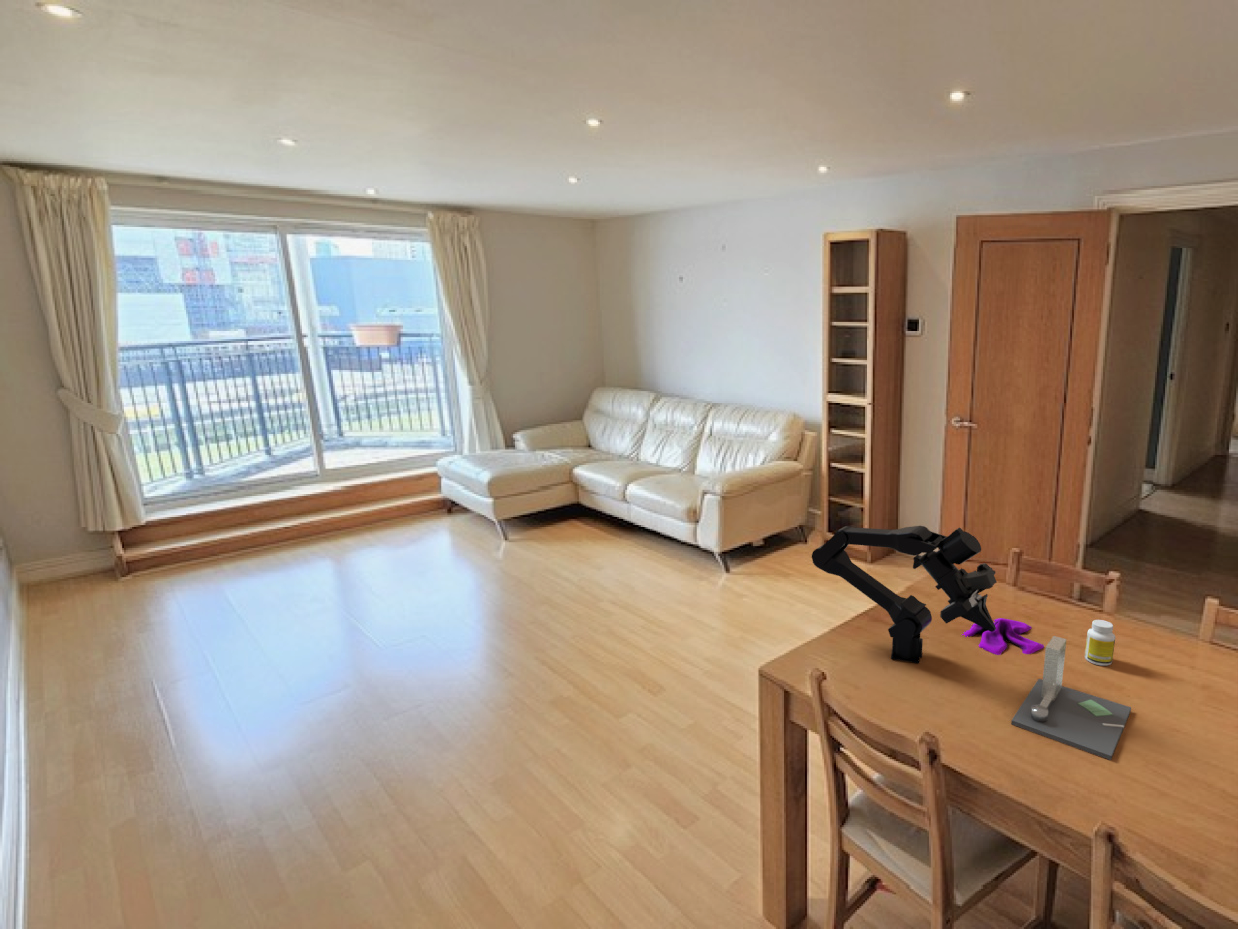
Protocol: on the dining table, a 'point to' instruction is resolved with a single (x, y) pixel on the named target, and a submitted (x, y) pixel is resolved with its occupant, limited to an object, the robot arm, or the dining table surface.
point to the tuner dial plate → (1076, 720)
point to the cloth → (1004, 636)
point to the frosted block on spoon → (1050, 677)
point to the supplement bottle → (1100, 643)
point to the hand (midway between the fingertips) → (994, 630)
